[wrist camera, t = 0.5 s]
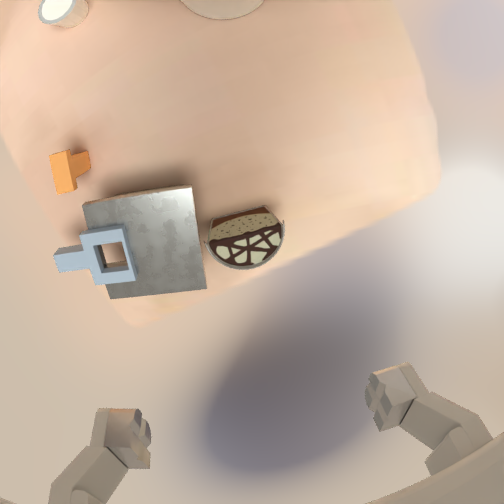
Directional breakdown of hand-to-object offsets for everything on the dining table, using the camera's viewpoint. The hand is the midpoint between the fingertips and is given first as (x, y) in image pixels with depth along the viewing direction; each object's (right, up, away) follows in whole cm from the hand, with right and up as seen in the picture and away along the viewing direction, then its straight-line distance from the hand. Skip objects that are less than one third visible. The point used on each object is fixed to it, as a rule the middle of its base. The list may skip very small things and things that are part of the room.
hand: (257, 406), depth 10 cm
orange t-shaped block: (-29, +20, +35) cm, 50 cm away
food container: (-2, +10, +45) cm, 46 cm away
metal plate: (-17, +10, +42) cm, 46 cm away
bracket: (-24, +5, +34) cm, 42 cm away
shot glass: (-29, +44, +23) cm, 58 cm away
